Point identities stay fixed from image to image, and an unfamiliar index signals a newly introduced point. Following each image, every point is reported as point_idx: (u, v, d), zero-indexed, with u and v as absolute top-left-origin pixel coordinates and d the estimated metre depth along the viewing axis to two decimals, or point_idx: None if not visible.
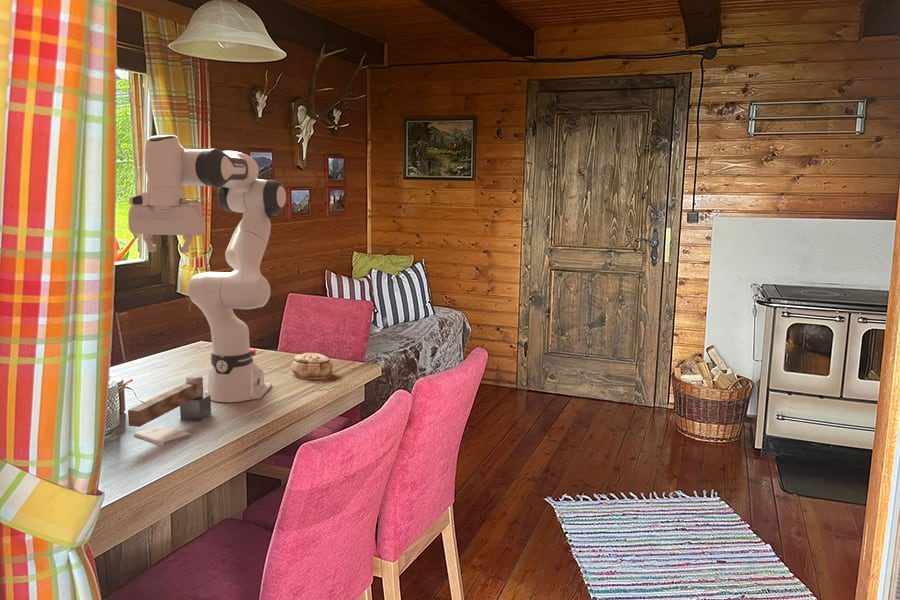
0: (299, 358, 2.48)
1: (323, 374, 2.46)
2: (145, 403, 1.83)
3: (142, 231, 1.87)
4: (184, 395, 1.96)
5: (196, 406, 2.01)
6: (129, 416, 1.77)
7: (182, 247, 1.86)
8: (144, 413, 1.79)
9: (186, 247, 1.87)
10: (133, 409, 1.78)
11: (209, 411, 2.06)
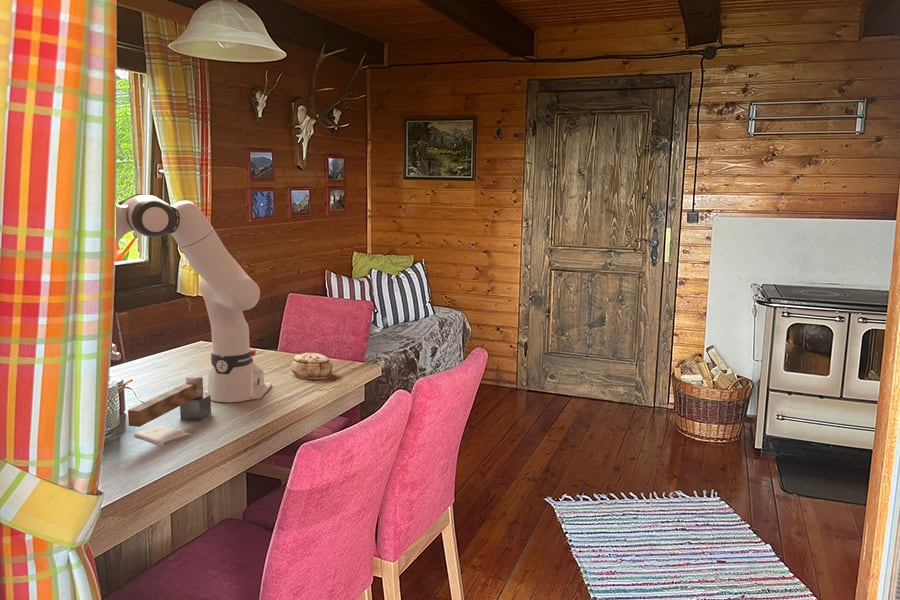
0: (299, 358, 2.48)
1: (323, 374, 2.46)
2: (145, 403, 1.83)
3: None
4: (184, 395, 1.96)
5: (196, 406, 2.01)
6: (129, 416, 1.77)
7: None
8: (144, 413, 1.79)
9: None
10: (133, 409, 1.78)
11: (209, 411, 2.06)
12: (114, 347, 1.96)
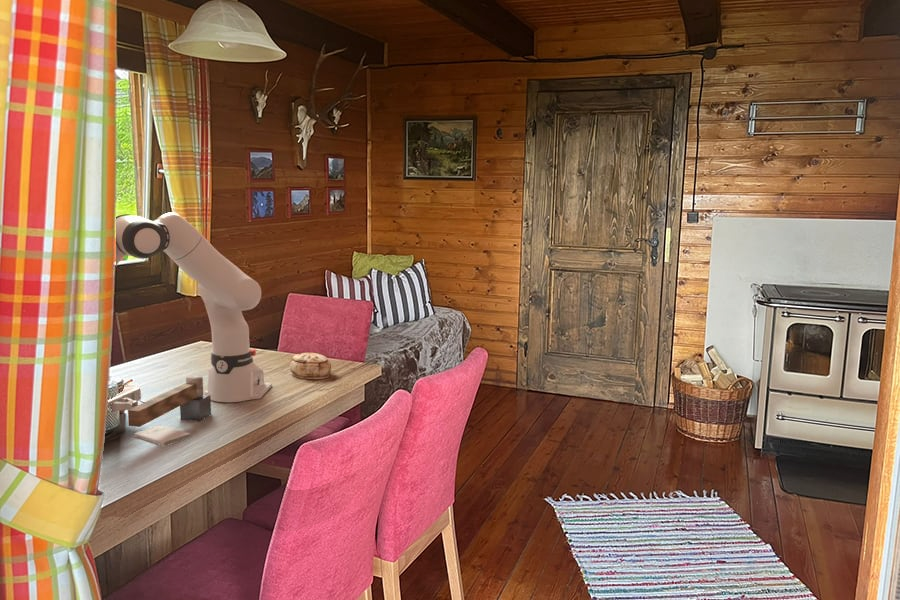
0: (298, 358, 2.49)
1: (321, 374, 2.46)
2: (145, 403, 1.83)
3: None
4: (184, 395, 1.96)
5: (196, 406, 2.01)
6: (129, 416, 1.77)
7: None
8: (144, 413, 1.79)
9: (126, 407, 1.87)
10: (133, 409, 1.78)
11: (209, 411, 2.06)
12: (138, 390, 1.97)
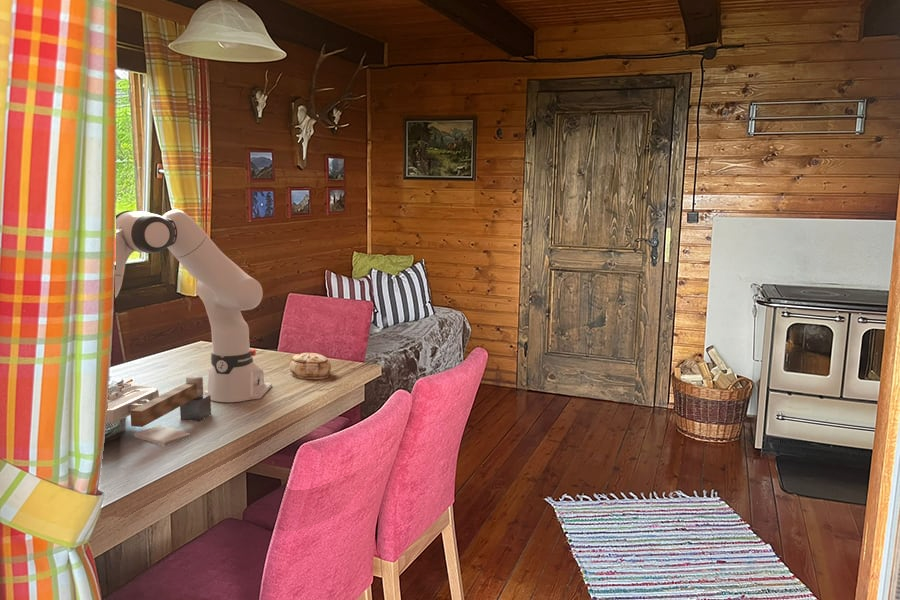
0: (297, 358, 2.49)
1: (321, 374, 2.46)
2: (147, 403, 1.83)
3: None
4: (185, 395, 1.96)
5: (196, 406, 2.01)
6: (131, 416, 1.77)
7: None
8: (146, 413, 1.79)
9: None
10: (135, 409, 1.78)
11: (209, 411, 2.06)
12: (156, 392, 1.95)
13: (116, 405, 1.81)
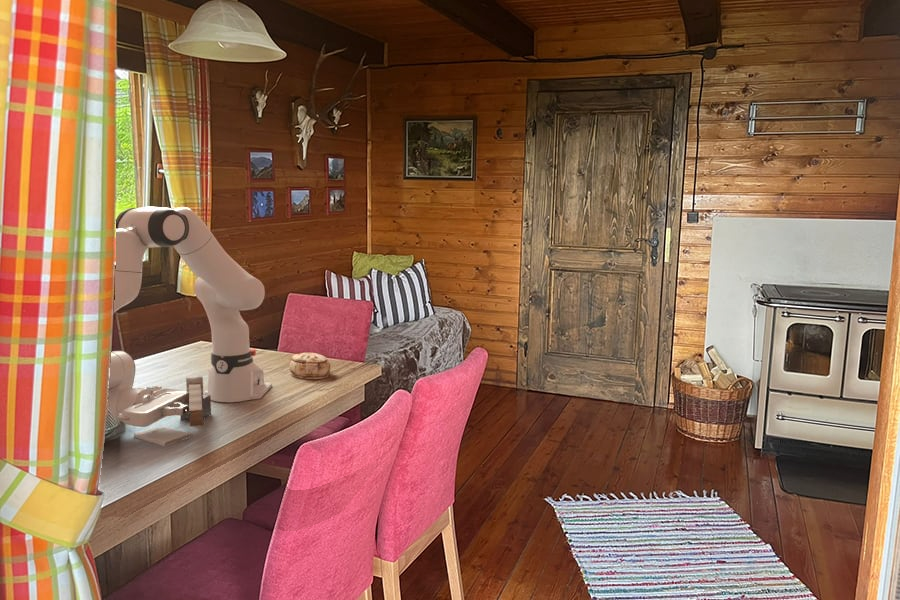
0: (297, 358, 2.49)
1: (321, 374, 2.46)
2: (192, 403, 1.83)
3: None
4: None
5: None
6: (191, 416, 1.78)
7: None
8: None
9: (177, 412, 1.83)
10: (193, 409, 1.79)
11: (209, 411, 2.06)
12: (187, 395, 1.94)
13: (149, 409, 1.79)
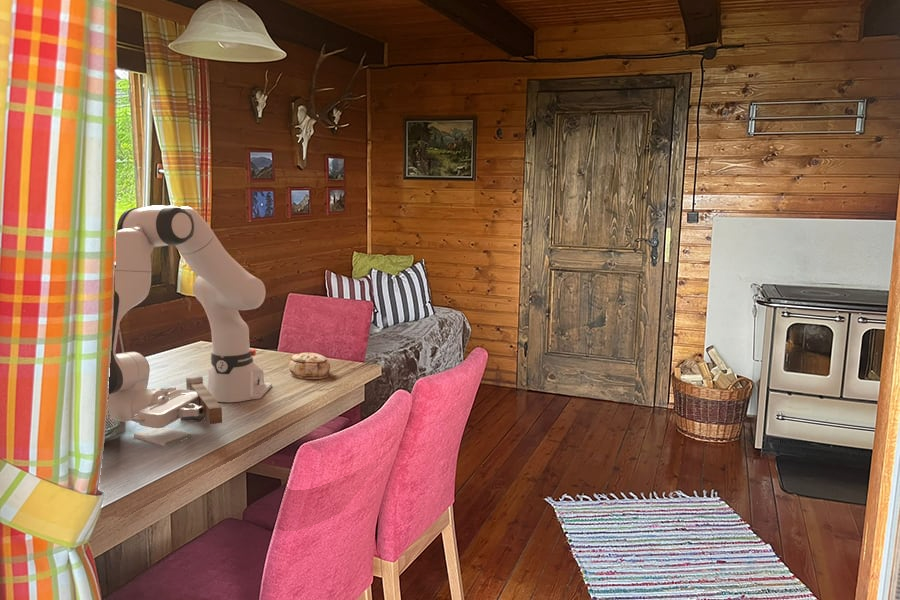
0: (297, 357, 2.49)
1: (320, 374, 2.46)
2: (207, 402, 1.85)
3: None
4: None
5: None
6: (211, 414, 1.80)
7: None
8: None
9: (192, 413, 1.83)
10: (212, 407, 1.80)
11: None
12: None
13: (164, 410, 1.78)
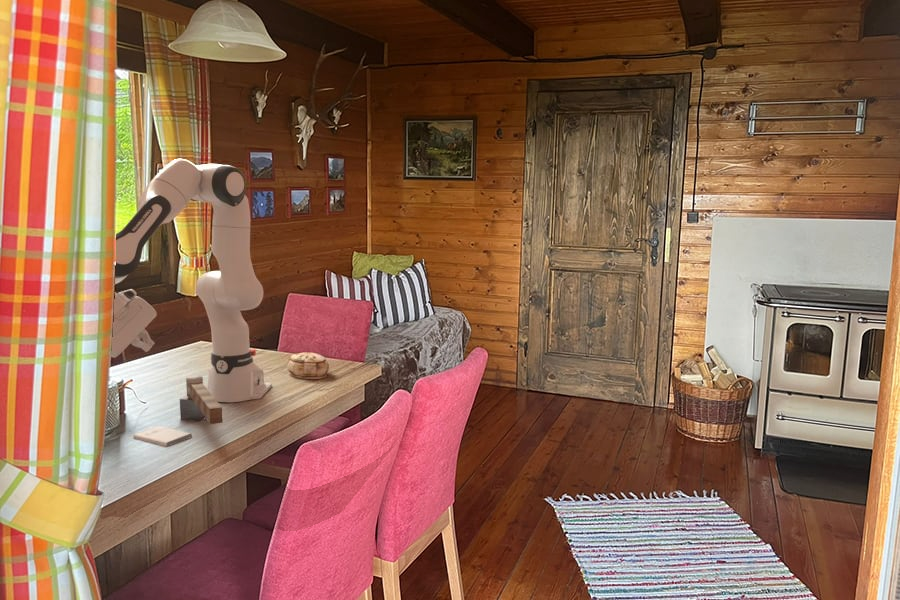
0: (295, 357, 2.49)
1: (319, 374, 2.46)
2: (207, 402, 1.85)
3: None
4: None
5: (196, 406, 2.01)
6: (211, 414, 1.80)
7: None
8: None
9: (143, 347, 1.86)
10: (212, 407, 1.80)
11: None
12: (154, 317, 1.93)
13: (124, 341, 1.79)
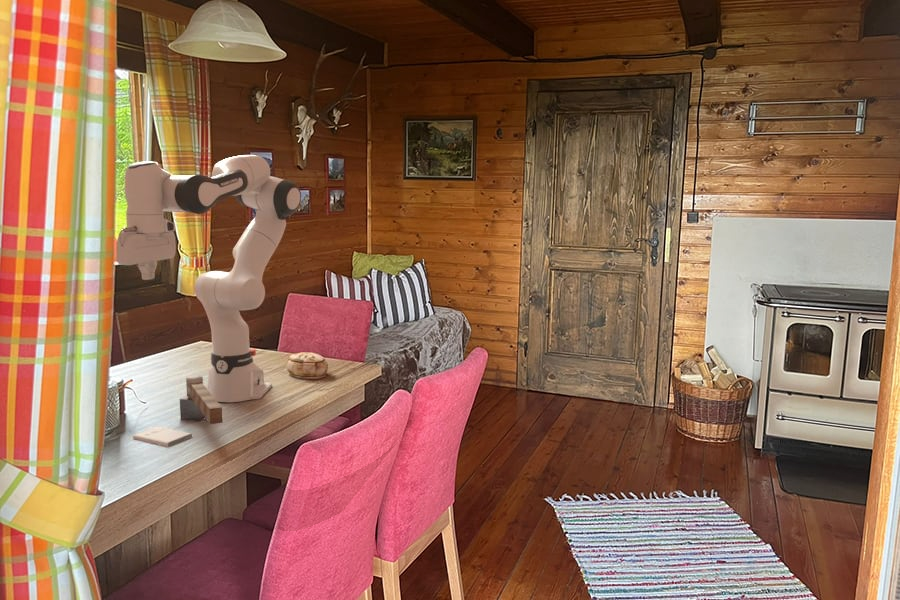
0: (294, 357, 2.49)
1: (318, 373, 2.46)
2: (207, 402, 1.85)
3: None
4: None
5: (196, 406, 2.01)
6: (211, 414, 1.80)
7: None
8: None
9: (144, 274, 1.85)
10: (212, 407, 1.80)
11: None
12: None
13: (137, 259, 1.79)
